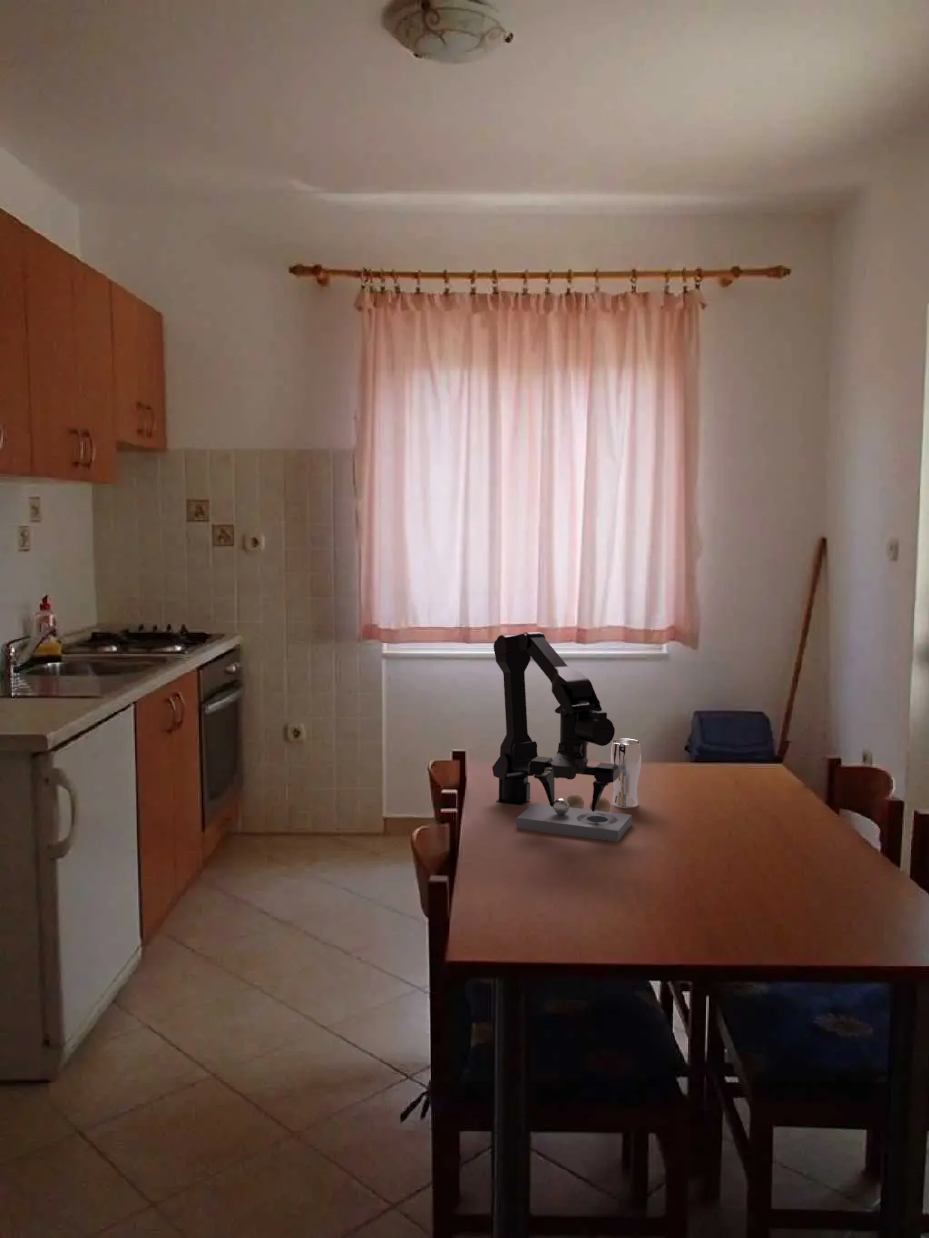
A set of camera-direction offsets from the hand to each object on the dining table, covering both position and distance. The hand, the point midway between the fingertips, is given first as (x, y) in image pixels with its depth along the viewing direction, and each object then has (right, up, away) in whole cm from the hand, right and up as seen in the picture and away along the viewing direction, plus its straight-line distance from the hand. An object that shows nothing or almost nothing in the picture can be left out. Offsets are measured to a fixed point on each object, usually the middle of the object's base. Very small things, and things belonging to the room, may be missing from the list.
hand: (572, 808), depth 200 cm
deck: (0, -4, 0) cm, 4 cm away
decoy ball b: (+7, -1, +8) cm, 11 cm away
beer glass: (+14, -3, +17) cm, 23 cm away
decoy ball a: (+2, -1, +10) cm, 11 cm away
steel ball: (-2, 0, +1) cm, 3 cm away
